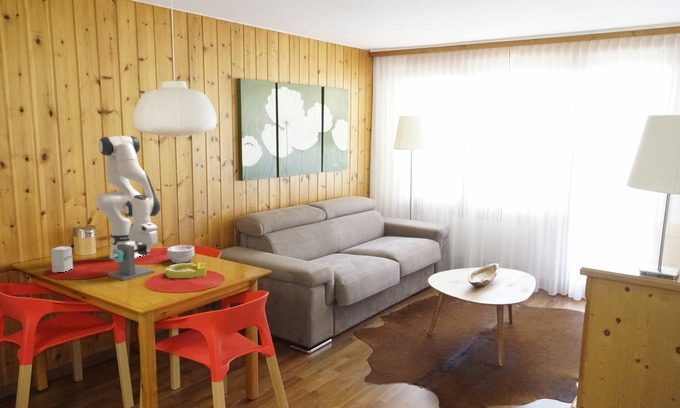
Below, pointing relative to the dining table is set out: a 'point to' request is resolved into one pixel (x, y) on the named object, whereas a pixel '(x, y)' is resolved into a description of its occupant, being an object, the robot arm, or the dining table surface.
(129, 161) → the robot arm
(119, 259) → the teal flat block
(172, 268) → the ashtray
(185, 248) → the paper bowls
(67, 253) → the supplement box
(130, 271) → the bearing stand
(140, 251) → the shaft
